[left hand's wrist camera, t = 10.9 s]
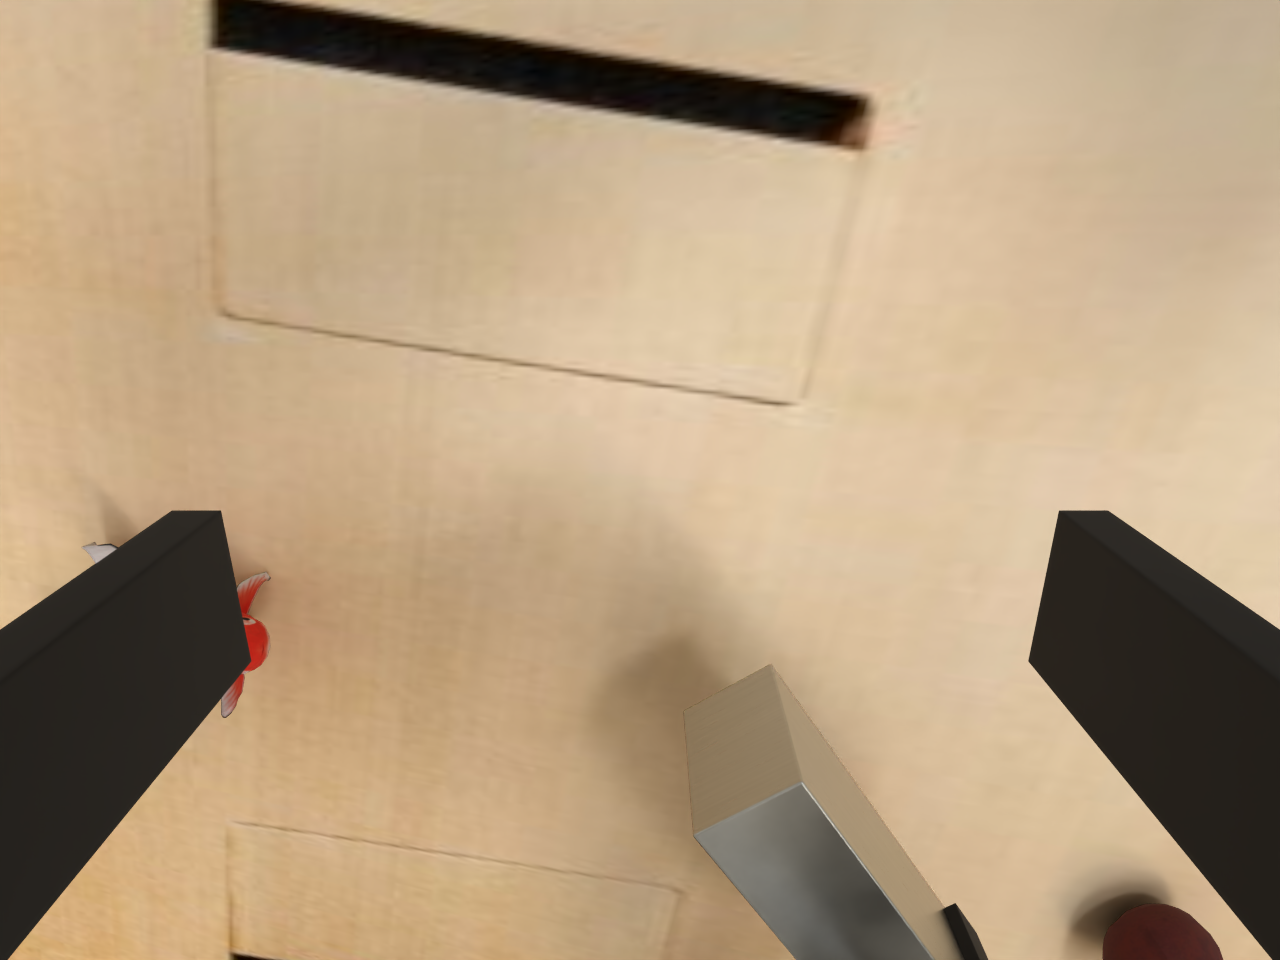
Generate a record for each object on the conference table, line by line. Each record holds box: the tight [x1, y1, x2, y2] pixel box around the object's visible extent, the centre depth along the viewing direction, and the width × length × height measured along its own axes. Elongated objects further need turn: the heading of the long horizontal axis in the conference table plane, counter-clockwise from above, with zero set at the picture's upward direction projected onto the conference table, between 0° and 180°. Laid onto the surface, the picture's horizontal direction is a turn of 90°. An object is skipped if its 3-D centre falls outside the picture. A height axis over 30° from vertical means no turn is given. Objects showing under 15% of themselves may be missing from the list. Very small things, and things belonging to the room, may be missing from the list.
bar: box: [684, 664, 964, 960], centre depth 38 cm, size 24×5×8 cm, turn 33°
